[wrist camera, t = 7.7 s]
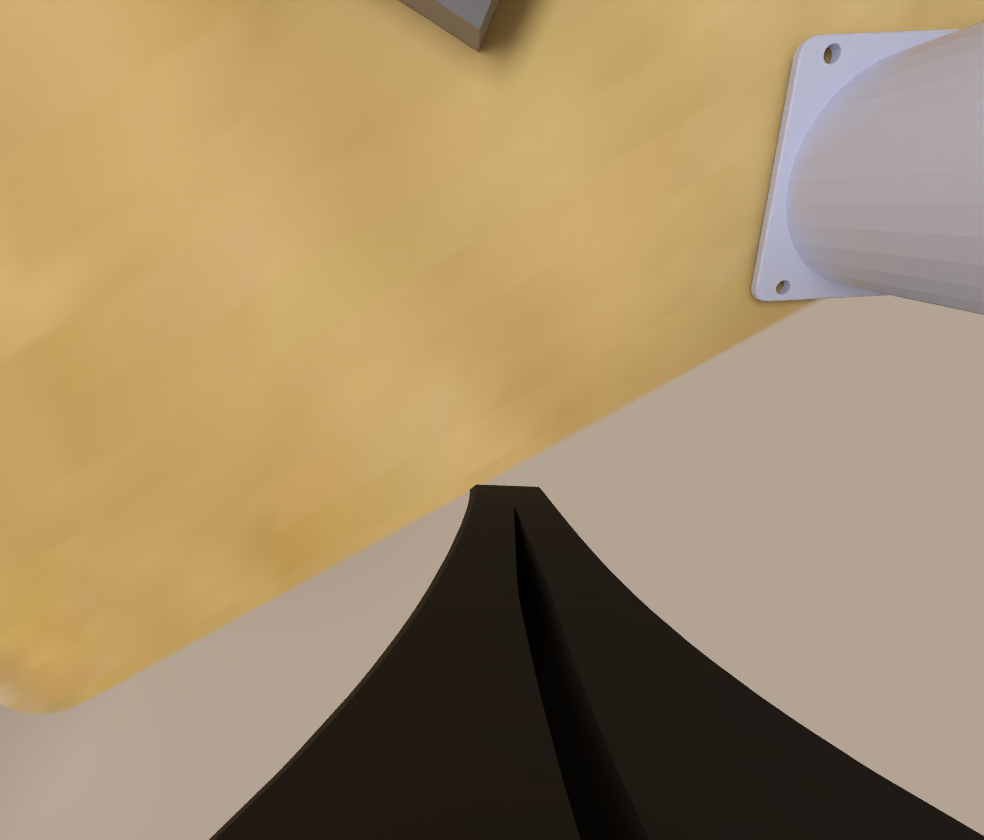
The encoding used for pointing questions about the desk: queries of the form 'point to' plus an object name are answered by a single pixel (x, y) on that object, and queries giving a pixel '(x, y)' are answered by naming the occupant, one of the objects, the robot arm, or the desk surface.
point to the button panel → (458, 17)
